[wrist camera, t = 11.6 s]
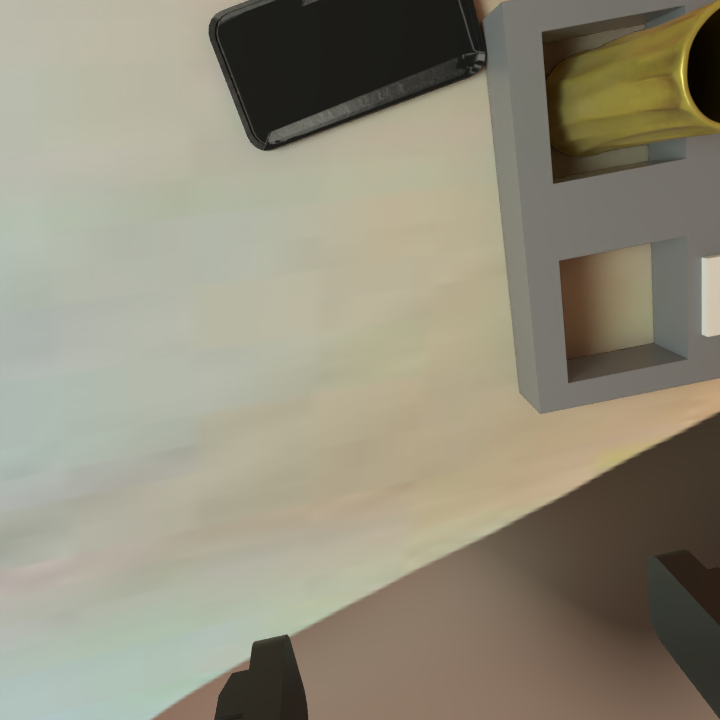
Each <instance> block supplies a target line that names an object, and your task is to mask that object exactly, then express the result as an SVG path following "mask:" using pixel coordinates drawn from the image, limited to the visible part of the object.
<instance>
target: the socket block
mask: <svg viewBox="0 0 720 720" xmlns="http://www.w3.org/2000/svg"><path fill="white" fill-rule="evenodd" d="M715 1H717V0H510V1H505V2H501V3H500V4H499V5H498V6H497V7H496V8H495V9H494V10H493V11H492V12H491V13H490V14H489V15H488V16H486V17H485V18H484V19H483V20H482V21H481V26H482V35H483V43H484V47H485V64H486V74H487V84H488V93H489V103H490V113H491V122H492V132H493V141H494V151H495V161H496V170H497V180H498V190H499V199H500V209H501V219H502V228H503V238H504V247H505V257H506V267H507V276H508V286H509V296H510V305H511V315H512V325H513V334H514V344H515V353H516V363H517V373H518V382H519V392H520V394H521V395H522V396H523V397H524V398H525V399H526V400H527V401H528V402H529V403H530V404H531V405H532V406H533V407H534V408H535V409H536V410H537V411H538V412H539V413H540V414H543V413H548V412H553V411H558V410H563V409H568V408H573V407H578V406H583V405H588V404H593V403H598V402H603V401H608V400H613V399H618V398H623V397H628V396H633V395H638V394H643V393H648V392H653V391H658V390H663V389H668V388H673V387H678V386H683V385H688V384H693V383H698V382H703V381H708V380H713V379H718V378H720V134H711V135H701V136H692V137H684V138H677V139H671V140H665V141H660V142H655V143H650V144H648V146H649V161H645V162H640V163H635V164H629V165H624V166H619V167H614V168H608V169H603V170H598V171H593V172H588V173H582V174H577V175H572V176H567V177H561V178H556V179H553V176H552V163H551V150H550V137H549V124H548V111H547V98H546V84H545V71H544V58H543V45H542V43H545V42H550V41H556V40H561V39H566V38H572V37H577V36H583V35H588V34H593V33H599V32H604V31H609V30H615V29H620V28H626V27H631V26H636V25H642V24H645V30H646V29H649V28H653V27H656V26H659V25H661V24H664V23H666V22H668V21H671V20H673V19H676V18H678V17H680V16H682V15H684V14H687V13H689V12H691V11H693V10H696V9H698V8H701V7H703V6H706V5H708V4H710V3H713V2H715ZM647 243H651V253H652V289H653V325H654V343H651V344H646V345H641V346H636V347H631V348H626V349H621V350H616V351H611V352H606V353H601V354H596V355H591V356H586V357H581V358H576V359H571V360H566V347H565V334H564V321H563V308H562V295H561V281H560V268H559V261H560V260H565V259H570V258H576V257H581V256H586V255H591V254H596V253H601V252H606V251H611V250H617V249H622V248H627V247H632V246H637V245H642V244H647Z"/></svg>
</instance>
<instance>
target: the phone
mask: <svg viewBox="0 0 720 720" xmlns="http://www.w3.org/2000/svg"><path fill="white" fill-rule="evenodd" d="M209 37H210V41H211V43H212V46H213V49H214V51H215V54H216V56H217V59H218V62H219V64H220V67H221V69H222V72H223V75H224V77H225V80H226V82H227V85H228V88H229V90H230V93H231V95H232V98H233V101H234V103H235V106H236V108H237V111H238V114H239V116H240V119H241V121H242V124H243V126H244V129H245V132H246V134H247V137H248V139H249V140H250V142H251V143H252V144H253V145H254V146H255V147H256V148H258V149H260V150H264V151H271V150H275V149H278V148H280V147H283V146H286V145H288V144H291V143H294V142H297V141H299V140H302V139H305V138H307V137H310V136H313V135H315V134H318V133H321V132H323V131H326V130H329V129H331V128H334V127H337V126H339V125H342V124H345V123H348V122H350V121H353V120H356V119H358V118H361V117H364V116H366V115H369V114H372V113H374V112H377V111H380V110H382V109H385V108H388V107H391V106H393V105H396V104H399V103H401V102H404V101H407V100H409V99H412V98H415V97H417V96H420V95H423V94H425V93H428V92H431V91H434V90H436V89H439V88H442V87H444V86H447V85H450V84H452V83H455V82H458V81H460V80H463V79H466V78H468V77H470V76H472V75H474V74H475V73H477V72H478V71H479V70H480V68H481V67H482V65H483V63H484V60H485V47H484V43H483V39H482V35H481V31H480V27H479V23H478V19H477V15H476V11H475V7H474V3H473V0H249V1H246V2H244V3H241V4H238V5H236V6H233V7H230V8H228V9H225V10H222V11H220V12H219V13H217V14H215V16H214V17H213V18H212V19H211V22H210V25H209Z"/></svg>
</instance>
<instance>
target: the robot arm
mask: <svg viewBox="0 0 720 720" xmlns="http://www.w3.org/2000/svg"><path fill="white" fill-rule="evenodd" d="M647 578H648V593H649V610H650V617H651V621H652V624H653V627H654V629H655V631H656V634H657V636H658V638H659V640H660V641H661V643H662V644H663V646H664V647H665V648H666V650H667V651H668V652H669V653H670V655H671V656H672V657H673V658H674V660H675V661H676V663H677V664H678V665H679V666H680V668H681V669H682V670H683V672H684V673H685V674H686V676H687V677H688V678H689V680H690V681H691V682H692V683H693V685H694V686H695V687H696V689H697V690H698V691H699V692H700V694H701V695H702V697H703V698H704V699H705V700H706V702H707V703H708V704H709V706H710V707H711V708H712V709H713V711H714V712H715V714H716V715H717V716H718V717H719V719H720V568H718V567H717V568H712V569H707V568H705V567H704V566H703V565H702V564H701V563H700V562H699V561H698V560H697V559H696V558H695V557H694V556H693V555H692V554H691V553H690V552H689V551H687V550H686V549H678V550H674V551H669V552H665V553H660V554H656V555H651V556H649V557H648V559H647ZM214 720H308V710H307V701H306V695H305V690H304V686H303V683H302V679H301V676H300V673H299V669H298V666H297V662H296V659H295V655H294V652H293V648H292V644H291V641H290V638H289V636H288V635H282V636H278V637H273V638H269V639H264V640H260V641H255V642H254V643H253V645H252V651H251V659H250V667H249V670H245V671H240V672H236V673H232V675H231V676H230V678H229V679H228V681H227V683H226V685H225V686H224V688H223V689H222V691H221V693H220V695H219V697H218V703H217V708H216V714H215V719H214Z"/></svg>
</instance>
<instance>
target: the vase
mask: <svg viewBox="0 0 720 720" xmlns="http://www.w3.org/2000/svg"><path fill="white" fill-rule="evenodd" d="M545 84H546V98H547V111H548V124H549V137H550V143H551V145H552V146H554V147H555V148H556V149H557V150H559V151H561V152H562V153H564V154H567V155H570V156H574V157H588V156H593V155H597V154H600V153H602V152H606V151H610V150H615V149H619V148H626V147H632V146H638V145H644V144H650V143H655V142H660V141H665V140H671V139H677V138H684V137H692V136H701V135H711V134H720V0H717V1H715V2H713V3H710V4H708V5H706V6H703V7H701V8H698V9H696V10H693V11H691V12H689V13H687V14H684V15H682V16H680V17H678V18H676V19H673V20H671V21H668V22H666V23H664V24H661V25H659V26H656V27H653V28H649V29H646V30H641V31H637V32H634V33H631V34H628V35H626V36H623V37H621V38H619V39H617V40H614V41H611V42H609V43H606V44H604V45H602V46H600V47H598V48H597V49H595V50H587V51H583V52H579V53H576V54H574V55H572V56H570V57H568V58H566V59H564V60H563V61H562V62H560V63H559V64H558V65H557V66H556V67H555V68H554V69H553V71H552V72H551V73H550V75H549V76H548V78H547V79H546V81H545Z"/></svg>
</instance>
